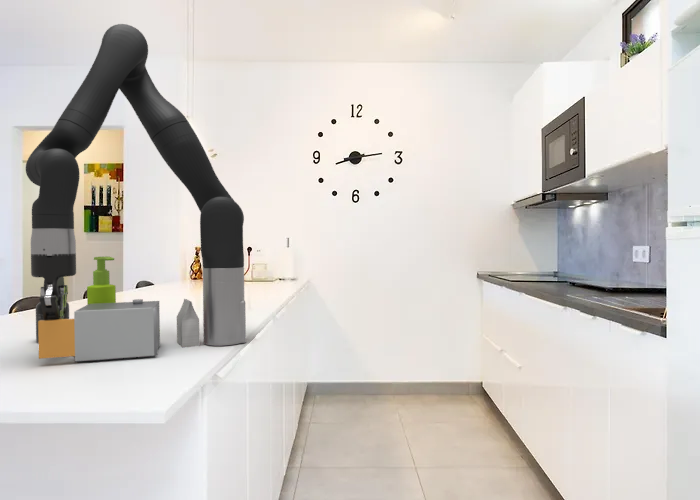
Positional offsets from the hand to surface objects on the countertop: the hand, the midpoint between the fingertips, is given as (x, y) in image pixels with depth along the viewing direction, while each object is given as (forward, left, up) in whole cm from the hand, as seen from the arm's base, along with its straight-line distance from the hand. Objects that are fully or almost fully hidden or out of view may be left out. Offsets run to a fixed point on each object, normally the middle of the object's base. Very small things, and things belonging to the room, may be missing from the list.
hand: (55, 340), depth 93 cm
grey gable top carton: (-25, -8, -4) cm, 26 cm away
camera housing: (-12, -3, -4) cm, 12 cm away
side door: (-9, +4, -4) cm, 10 cm away
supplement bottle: (+6, -23, -4) cm, 24 cm away
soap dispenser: (-6, -17, -4) cm, 18 cm away
